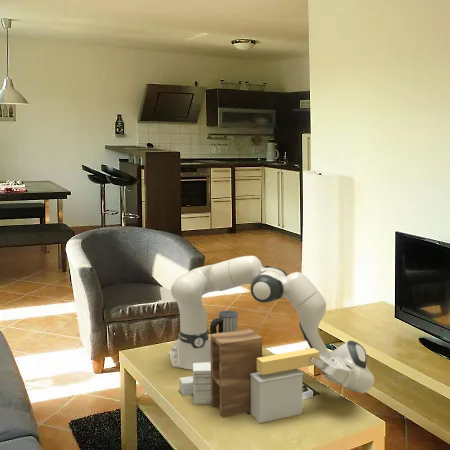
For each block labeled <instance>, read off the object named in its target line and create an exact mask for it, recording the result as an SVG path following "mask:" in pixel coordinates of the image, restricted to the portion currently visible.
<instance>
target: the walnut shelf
mask: <svg viewBox="0 0 450 450" xmlns="http://www.w3.org/2000/svg"><path fill="white" fill-rule="evenodd" d="M209 334H210V333H209ZM209 340H210V345H211V403H210V405H211V406H212V407H213V408H215V407H219V415H220V418H226V417H230V416H236V415H240V414H245V413H246V414H247V413H248V412H249V413H251V376H250V373H256V372H258V371H257V358H259V357H263V337H262V336H261V335H259V334H258V333H257V332H256V331H254V330H253V329H251V328H243V329H238V330H236V331H229V332H223V333H218V332H217V333H216V334H210V335H209Z"/></svg>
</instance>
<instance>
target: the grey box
mask: <svg viewBox="0 0 450 450" xmlns="http://www.w3.org/2000/svg"><path fill="white" fill-rule="evenodd" d="M250 376H251V411H250V415H251V416H252V417H253V418H254V419H255V420H256V421H257V422H258V423H259V424H262V423H267V422H271V421H275V420H281V419H283V418H284V419H285V418H288V417H294V416H298V415H302V414H303V381H304V380H303V376H304V373H303V372H302V371H301V370H299V368H297V369H291V370H286V371H281V372H275V373H270V374H265V375H261V374H260V373H259V372H256V373H250Z"/></svg>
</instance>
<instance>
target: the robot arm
mask: <svg viewBox="0 0 450 450" xmlns="http://www.w3.org/2000/svg"><path fill="white" fill-rule="evenodd" d="M244 285H250V293H251V294H250V295H251V296H252V298H253V299H254V301H255V300H256V301H257V302H259V303H265V304H266V303H267V304H268V303H271V302H274V301H277V300H280V299H282V298H286V299H287V300H288V301H289V302H290V303H291V305H292V307H293V308H294V309H295V310H296V312H297V314H298V316H299V317H298V318H299V328H300V330H301V333H302V335H303V337H304V339H305V341H306V343H307V344H308V346H309V348H308V347H305V349H311V348H314V349H316V350H318V351H319V352H320V360H318V359H316V358H314V357H311V358H310V362H312V363H313V364H315V365H314V366H315V367H317V368H318V369H319V370H320V371H321V372H322V374H323V375H324V377H325V378H326V380H327V381H330V382H332V383H333V384H334V383H335V384H336V385H339V386H342V387H345V389H348V390H349V391H353V392H356V393H359V394H364V393H367V392H368V391H370V390H371V389H372V387H373V386H374V383H375V376H374V375H373V373H372V372H371V371H370V370H369V368H368V365H367V352H366V350H365V348H364V347H363V346H362V345H361V344H360V343H359V342H357V341H354V340H348V341H346V342H345V343H343V344H341V345H340V346H338V347H336V348H335V349H334V350H332V351H330V350H328V348H327V346H326V344H325V342H324V340H323V339H322V336H321V335H320V333H319V326H320V323H321V321H322V320H323V318H324V316H325V315H326V311H327V303H326V302H327V301H326V299H325V298H324V296H323V295H322V293H321V292H320V291H319V290H318V288H317V287H316V286H315V285H314V284H313V282H312V281H311V280H310V279H309V278H308V277H306V276H305V274H303V273H302V272H299V271H295V272H291V273H289V274H288V273H287V272H286V271H285V270H283V269H282V268H279V267H278V268H277V267H274V266H271V265H265V266H263V265H262V262H261V260H260V259H259V258H258V257H257V256H255V255H244V256H238V257H234V258H231V259H228V260H224V261H220V262H218V263H214V264H208V265H204V266H200V267H196V268H193V269H192V270H191V269H190V271H188V272H186V273H184V274H182V275H180V276H179V277H177V278H176V279H175V280H174V282H173V283H172V285H171V288H170V293H171V296H172V298H173V299H174V301H176V302H177V307H178V311H179V325H180V326H179V327H180V329H179V331H178V338H177V339H176V340H175V341H174V343H173V345H172V346H171V350H170V351H169V352H168V356H169V358H170V362H171V366H172V367H173V368H181V369H185V370H192V371H193V363H205V362H211V345H210V335H209V334H210V332H209V329H208V311H207V310H206V309H205V307H204V303H203V296H204V295H206V294H208V293H213V292H224V291H226V290H230V289H235V288H237V287H241V286H244ZM305 349H304V350H305Z"/></svg>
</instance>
